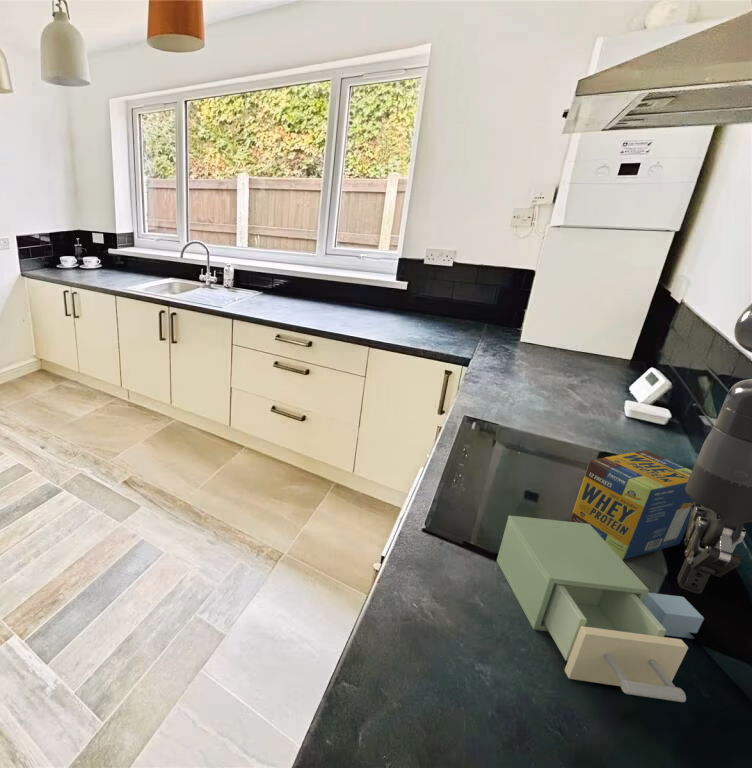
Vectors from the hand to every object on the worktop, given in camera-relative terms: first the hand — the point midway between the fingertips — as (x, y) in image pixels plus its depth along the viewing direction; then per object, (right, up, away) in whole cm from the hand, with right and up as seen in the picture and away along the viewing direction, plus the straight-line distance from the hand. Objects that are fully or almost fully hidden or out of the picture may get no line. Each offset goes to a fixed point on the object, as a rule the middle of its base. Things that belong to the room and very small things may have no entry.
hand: (688, 587), depth 59 cm
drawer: (-9, -11, +4) cm, 15 cm away
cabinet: (-7, -8, +14) cm, 18 cm away
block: (+6, -10, +10) cm, 15 cm away
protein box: (+15, -4, +29) cm, 33 cm away
